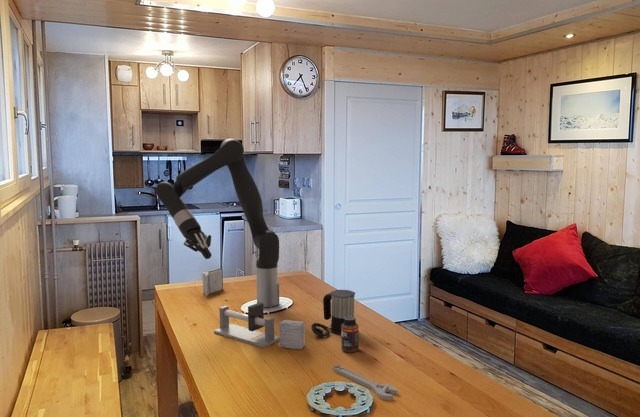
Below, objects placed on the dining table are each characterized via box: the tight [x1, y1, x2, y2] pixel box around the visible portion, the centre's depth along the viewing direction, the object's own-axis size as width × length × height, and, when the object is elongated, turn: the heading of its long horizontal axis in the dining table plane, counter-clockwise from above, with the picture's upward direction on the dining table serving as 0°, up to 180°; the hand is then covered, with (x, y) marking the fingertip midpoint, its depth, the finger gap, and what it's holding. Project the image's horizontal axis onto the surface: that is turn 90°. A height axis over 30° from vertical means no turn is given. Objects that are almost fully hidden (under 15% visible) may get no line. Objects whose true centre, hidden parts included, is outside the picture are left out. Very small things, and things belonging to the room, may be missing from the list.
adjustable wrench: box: [332, 364, 398, 401], centre depth 152 cm, size 25×6×2 cm, turn 36°
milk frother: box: [310, 289, 356, 338], centre depth 192 cm, size 14×16×15 cm
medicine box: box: [279, 319, 306, 351], centre depth 178 cm, size 8×4×9 cm, turn 71°
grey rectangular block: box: [201, 268, 224, 297], centre depth 246 cm, size 14×5×10 cm, turn 154°
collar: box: [247, 302, 265, 332], centre depth 185 cm, size 2×6×9 cm, turn 144°
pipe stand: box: [213, 305, 280, 349], centre depth 188 cm, size 25×9×9 cm, turn 54°
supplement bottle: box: [340, 316, 360, 353], centre depth 175 cm, size 6×6×11 cm
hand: (209, 257), depth 196 cm, fingers closed
